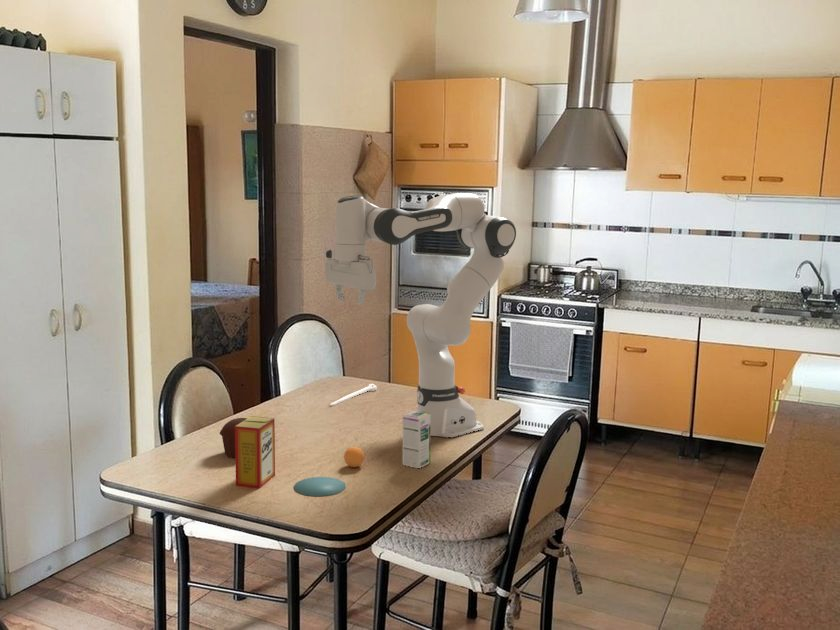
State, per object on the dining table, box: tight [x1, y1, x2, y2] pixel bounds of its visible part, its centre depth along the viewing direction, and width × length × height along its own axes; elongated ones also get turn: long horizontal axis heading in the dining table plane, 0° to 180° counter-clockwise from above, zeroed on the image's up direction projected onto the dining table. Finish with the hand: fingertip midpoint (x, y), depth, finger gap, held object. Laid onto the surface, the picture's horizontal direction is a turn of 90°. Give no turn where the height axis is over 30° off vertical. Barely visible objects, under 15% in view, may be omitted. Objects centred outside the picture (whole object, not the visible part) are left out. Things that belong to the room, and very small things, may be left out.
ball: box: [343, 446, 365, 468], centre depth 224 cm, size 6×6×6 cm
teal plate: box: [293, 476, 347, 497], centre depth 209 cm, size 13×13×1 cm
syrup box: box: [402, 410, 432, 469], centre depth 226 cm, size 6×6×14 cm
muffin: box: [219, 417, 249, 459], centre depth 232 cm, size 12×11×10 cm
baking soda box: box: [234, 415, 276, 489], centre depth 211 cm, size 10×6×16 cm
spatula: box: [329, 383, 378, 407], centre depth 295 cm, size 28×4×3 cm, turn 152°
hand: (350, 302), depth 235 cm, fingers open, 8 cm apart
